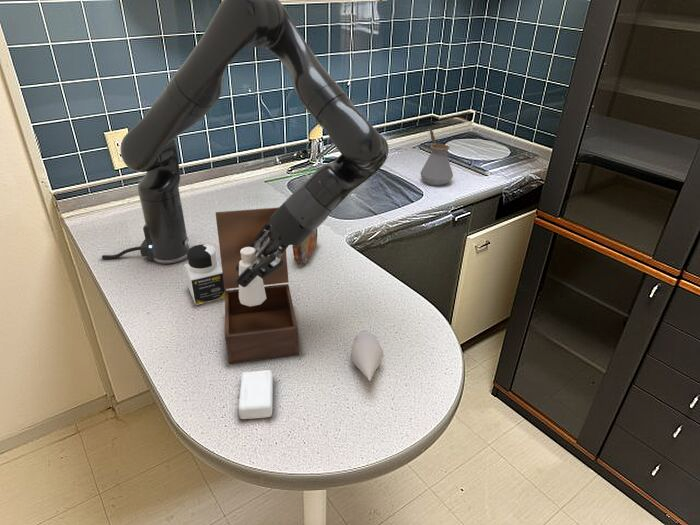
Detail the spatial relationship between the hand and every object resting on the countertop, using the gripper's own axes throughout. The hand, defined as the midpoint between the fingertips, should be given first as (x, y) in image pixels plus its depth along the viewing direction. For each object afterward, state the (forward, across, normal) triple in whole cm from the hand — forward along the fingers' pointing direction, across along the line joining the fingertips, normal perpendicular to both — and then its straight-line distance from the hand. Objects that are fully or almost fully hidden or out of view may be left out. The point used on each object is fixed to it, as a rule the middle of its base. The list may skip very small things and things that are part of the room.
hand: (239, 277), depth 93 cm
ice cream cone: (-5, +14, +26) cm, 30 cm away
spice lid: (-2, -10, +2) cm, 10 cm away
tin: (-1, -31, +22) cm, 39 cm away
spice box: (+8, 0, +12) cm, 15 cm away
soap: (+10, +18, +11) cm, 23 cm away
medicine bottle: (+16, -18, +5) cm, 24 cm away
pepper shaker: (+2, 0, +5) cm, 6 cm away
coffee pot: (-39, -79, +61) cm, 107 cm away
